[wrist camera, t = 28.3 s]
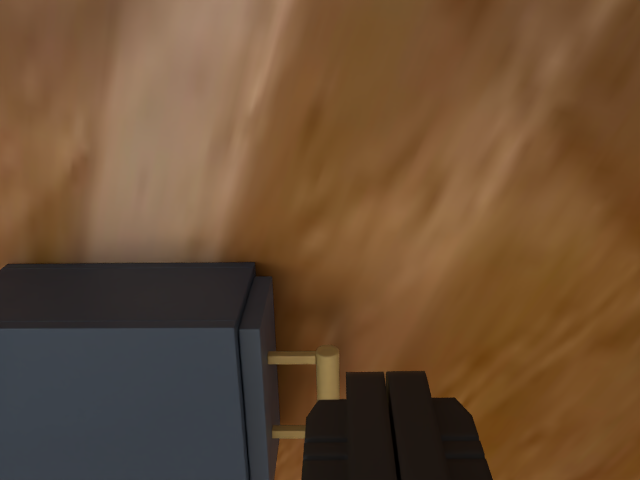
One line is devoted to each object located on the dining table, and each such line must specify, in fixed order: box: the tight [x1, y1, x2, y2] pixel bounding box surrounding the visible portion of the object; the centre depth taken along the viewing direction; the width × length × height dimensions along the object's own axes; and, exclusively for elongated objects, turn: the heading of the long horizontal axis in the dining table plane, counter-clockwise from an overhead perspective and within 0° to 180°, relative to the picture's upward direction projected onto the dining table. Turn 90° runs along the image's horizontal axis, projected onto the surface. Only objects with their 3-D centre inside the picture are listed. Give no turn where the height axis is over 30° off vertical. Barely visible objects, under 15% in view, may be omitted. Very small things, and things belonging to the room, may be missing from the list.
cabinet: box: [0, 262, 256, 480], centre depth 38 cm, size 17×14×9 cm
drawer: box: [238, 276, 340, 480], centre depth 38 cm, size 20×12×7 cm, turn 91°
